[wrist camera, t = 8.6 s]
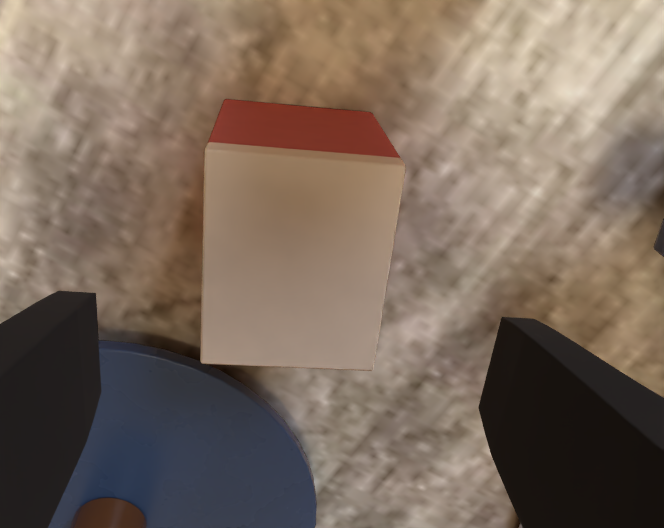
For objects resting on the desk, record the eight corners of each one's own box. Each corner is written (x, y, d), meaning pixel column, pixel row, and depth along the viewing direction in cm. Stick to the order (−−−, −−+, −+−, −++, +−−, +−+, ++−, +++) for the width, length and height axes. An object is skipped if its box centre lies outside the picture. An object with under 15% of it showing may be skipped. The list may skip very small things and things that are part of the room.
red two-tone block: (350, 275, 19) (373, 372, 15) (218, 268, 19) (200, 365, 14) (372, 111, 17) (406, 165, 13) (223, 98, 17) (203, 149, 12)
